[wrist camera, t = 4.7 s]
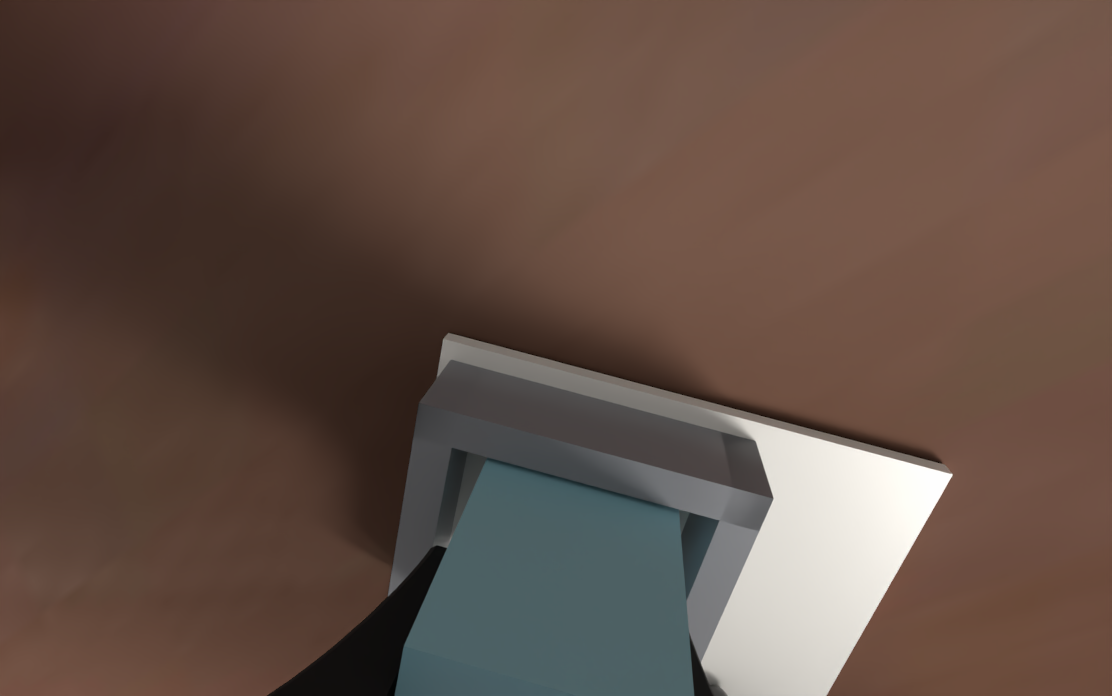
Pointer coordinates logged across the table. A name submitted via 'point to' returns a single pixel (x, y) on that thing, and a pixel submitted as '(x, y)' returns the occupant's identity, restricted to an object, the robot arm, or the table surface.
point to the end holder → (587, 472)
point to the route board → (773, 528)
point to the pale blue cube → (553, 596)
